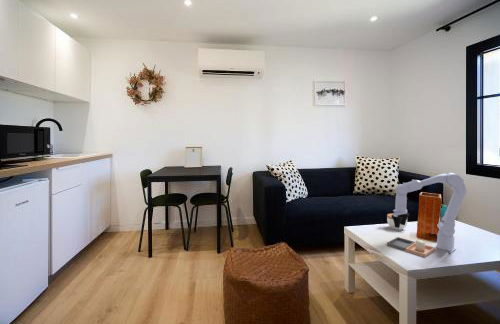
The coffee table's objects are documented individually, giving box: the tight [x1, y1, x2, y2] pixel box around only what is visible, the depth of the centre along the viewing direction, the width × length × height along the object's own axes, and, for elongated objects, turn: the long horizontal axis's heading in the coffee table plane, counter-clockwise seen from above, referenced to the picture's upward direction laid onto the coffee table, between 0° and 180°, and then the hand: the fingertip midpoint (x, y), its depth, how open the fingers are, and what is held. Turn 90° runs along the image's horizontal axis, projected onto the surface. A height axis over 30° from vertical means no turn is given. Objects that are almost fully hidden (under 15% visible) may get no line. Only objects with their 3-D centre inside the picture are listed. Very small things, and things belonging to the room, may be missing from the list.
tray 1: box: [386, 236, 416, 252], centre depth 148 cm, size 14×10×2 cm
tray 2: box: [405, 241, 436, 258], centre depth 140 cm, size 14×10×2 cm
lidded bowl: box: [386, 213, 409, 231], centre depth 177 cm, size 13×13×11 cm
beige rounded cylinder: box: [415, 239, 426, 252], centre depth 140 cm, size 4×4×5 cm
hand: (399, 226), depth 152 cm, fingers open, 7 cm apart
